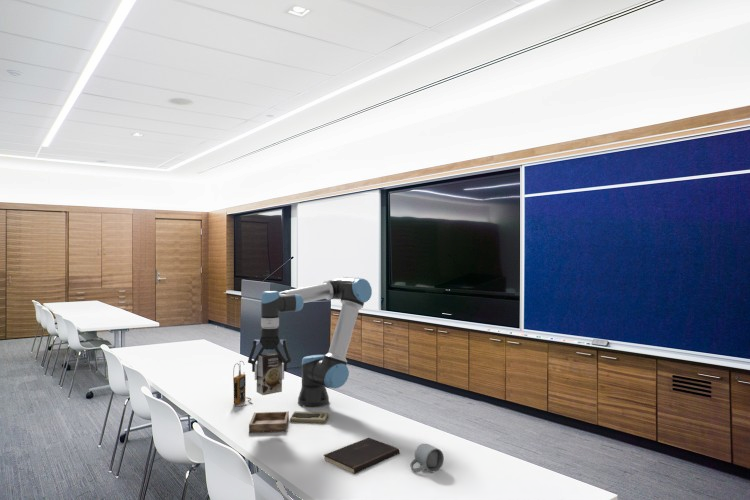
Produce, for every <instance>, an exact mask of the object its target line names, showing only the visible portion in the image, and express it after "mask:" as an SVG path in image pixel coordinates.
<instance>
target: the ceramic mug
mask: <svg viewBox="0 0 750 500" xmlns="http://www.w3.org/2000/svg"><path fill="white" fill-rule="evenodd" d="M444 457H445V456H444V453H443V451H442V450H441V449H440V448H438V447H435V446H433V445H432V444H428V443H421V444H419V445H418V446H417V447H416V448H415V451H414V459H413V460H411V462H410V464H409V467H410V469H411V471H412V472H414V473H421V472H422V471H424V470H427V472H431V473H436V472H438V471H439V470H440V469H441V468H442V467H443V464H444V460H445V459H444ZM417 463H418V464H419V465H420V466H418V467H414V466H415V464H417Z"/></svg>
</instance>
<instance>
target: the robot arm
mask: <svg viewBox="0 0 750 500" xmlns="http://www.w3.org/2000/svg"><path fill="white" fill-rule="evenodd" d="M372 289H373V288H372V285H371V284H370V282H369V281H368V280H367V279H365V278H361V277H348V276H346V277H344V276H343V277H339V278H335V279H330V280H327V281H326V280H324V281H323V282H322V283H319V284H315V285H310V286H304V287H298V288H294V289H289V290H288V289H287V290H284V291H277V290H266V291H262V293H261V298H260V300H261V301H260V303H261V305H260V307H261V309H260V315H261V316H260V326H261V329H260V339H254V340H253V342H252V348H251V352H250V353H249V356H248V360H247V363H249V364H251V369H252V370H251V372H252V373H254V381H257V360H258V358H259V355H261V354H263V351H264V350H267V351H268V350H275V353H278V355H279V356H280V358H281V360H282V381H283V380H285V372H287V371H288V363H289V364H290V363H291V361H292V359H291V355H290V352H289V349H288V345H287V339H286V338H285V339H280V328H279V326H280V314H281V313H290V312H291V313H293V312H294V313H295V312H300V311H301V310H302V309H303V307H304V304H305V303H311V302H315V301H321V300H327V301H329V300H340V303H341V308H340V312H339V315H338V319H337V322H336V325H335V329H334V331H333V336H332V339H331V342H330V346H329V349H328V352H327V353H326V354H313V355H307V356H304V357H303V358H302V359H301V389H300V391H299V395H298V398H297V403H298V405H300V406H301V407H307V408H314V407H322V406H325V405H327V404H329V401H330V397H329V394H328V391H327V388H329V389H330V388H331V389H338V388H341V387H343V386H344V385H345V384H346V382H347V381H348V379H349V376H350V374H349V373H350V371H349V368H348V366H347V364H348V360H347V358H346V357H347V352H348V350H349V347H350V346H349V345H350V343H351V339H352V335H353V333H354V328H355V325H356V322H357V318H358V316H359V315H358V314H359V311H360V310H361V309H363V308H364V305H365V303H367V302H368V301H370V299H371V297H372V293H373V291H372ZM259 344H260V345H261V346H262V347H261V348H260V349H259V351H258V352H257V354H256V355H255V358H254V359H253V357H254V354H255V352H256V349H257V347H258V345H259ZM279 344H281V345H282V347H283V351H284V353H282V351H281V349H280V347H279V346H278V345H279ZM284 354H285V355H284Z"/></svg>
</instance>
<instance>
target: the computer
mask: <svg viewBox="0 0 750 500" xmlns="http://www.w3.org/2000/svg"><path fill="white" fill-rule="evenodd" d="M329 417H330V415H329V412H327V411H326V412H322V411H301V410H300V411H297V410H295V411H293V413H292V414H291V416H290V418H289V423H298V424H321V425H323V424H327V421H328V420H329Z"/></svg>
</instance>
